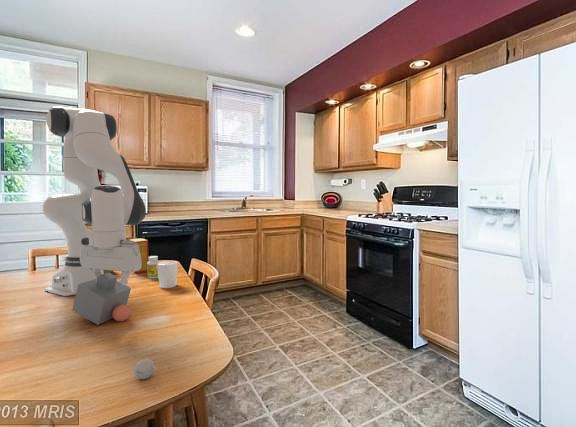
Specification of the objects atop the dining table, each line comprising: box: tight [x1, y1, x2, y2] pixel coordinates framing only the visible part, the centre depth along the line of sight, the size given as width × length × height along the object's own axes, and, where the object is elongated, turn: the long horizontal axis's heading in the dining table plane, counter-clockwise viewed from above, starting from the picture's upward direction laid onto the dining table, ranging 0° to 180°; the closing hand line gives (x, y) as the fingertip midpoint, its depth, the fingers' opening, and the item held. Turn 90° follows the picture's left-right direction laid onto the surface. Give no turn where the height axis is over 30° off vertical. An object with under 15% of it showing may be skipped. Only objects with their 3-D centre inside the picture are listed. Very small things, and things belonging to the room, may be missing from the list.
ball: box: [112, 304, 131, 322], centre depth 97 cm, size 5×5×5 cm
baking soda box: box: [127, 238, 150, 275], centre depth 156 cm, size 10×6×16 cm
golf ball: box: [133, 358, 155, 380], centre depth 67 cm, size 4×4×4 cm
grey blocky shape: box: [71, 273, 132, 326], centre depth 97 cm, size 10×10×12 cm
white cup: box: [157, 260, 178, 289], centre depth 131 cm, size 8×8×10 cm
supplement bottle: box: [146, 255, 160, 279], centre depth 145 cm, size 5×5×10 cm
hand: (111, 283), depth 96 cm, fingers open, 7 cm apart
